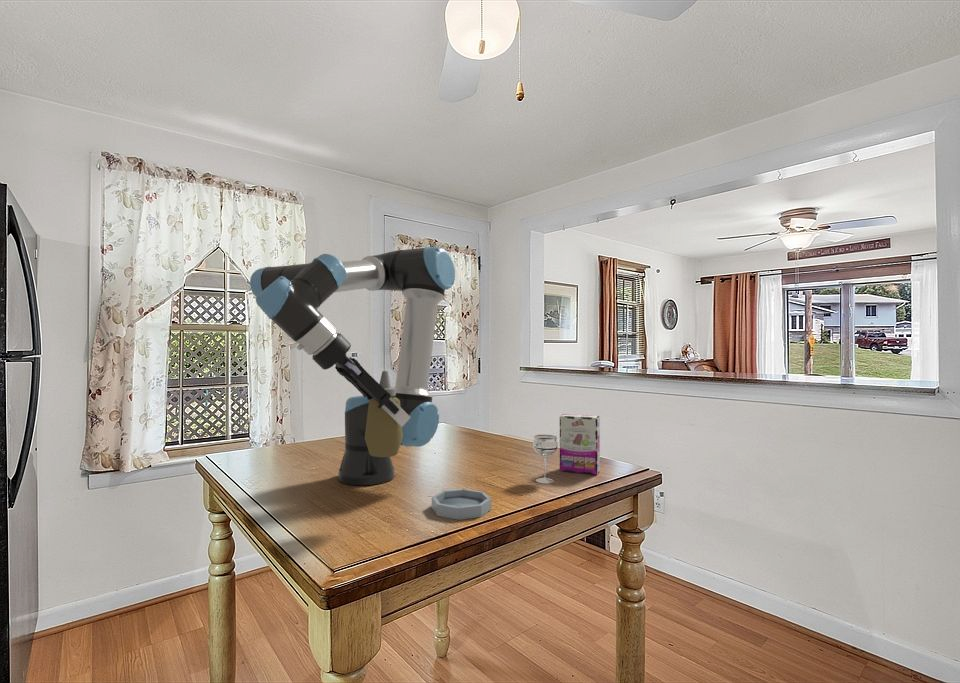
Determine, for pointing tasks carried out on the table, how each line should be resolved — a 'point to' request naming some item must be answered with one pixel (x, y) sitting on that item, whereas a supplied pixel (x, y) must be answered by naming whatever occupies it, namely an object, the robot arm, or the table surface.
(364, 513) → the table surface
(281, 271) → the robot arm
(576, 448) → the candy bar box
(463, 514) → the octagonal tray
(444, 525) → the table surface
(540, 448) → the wineglass
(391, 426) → the squeeze bottle
